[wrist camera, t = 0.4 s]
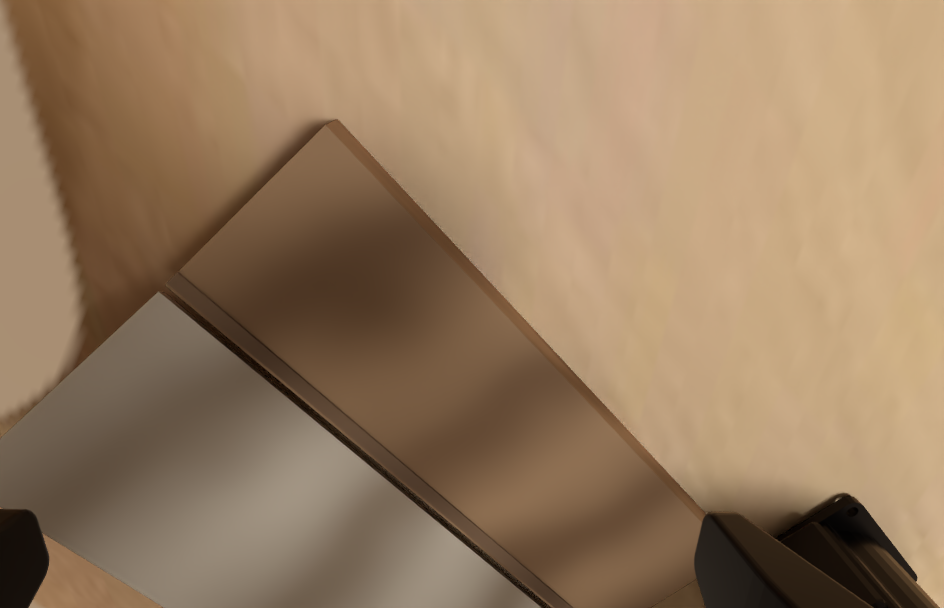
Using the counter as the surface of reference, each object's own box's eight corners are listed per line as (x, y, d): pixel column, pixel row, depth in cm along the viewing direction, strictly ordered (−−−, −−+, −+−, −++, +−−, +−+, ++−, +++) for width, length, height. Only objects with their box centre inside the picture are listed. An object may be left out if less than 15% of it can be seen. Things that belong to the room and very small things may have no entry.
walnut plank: (711, 519, 24) (734, 557, 22) (582, 602, 26) (594, 645, 24) (337, 119, 17) (324, 124, 15) (191, 264, 19) (163, 286, 17)
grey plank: (561, 621, 26) (588, 646, 24) (466, 767, 24) (487, 806, 22) (163, 291, 19) (158, 291, 17) (-17, 459, 17) (-45, 479, 15)
